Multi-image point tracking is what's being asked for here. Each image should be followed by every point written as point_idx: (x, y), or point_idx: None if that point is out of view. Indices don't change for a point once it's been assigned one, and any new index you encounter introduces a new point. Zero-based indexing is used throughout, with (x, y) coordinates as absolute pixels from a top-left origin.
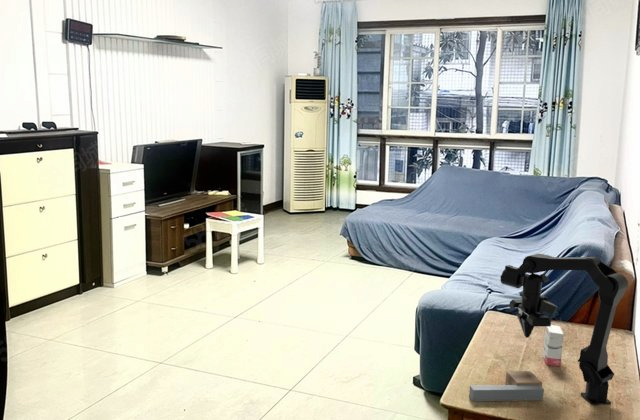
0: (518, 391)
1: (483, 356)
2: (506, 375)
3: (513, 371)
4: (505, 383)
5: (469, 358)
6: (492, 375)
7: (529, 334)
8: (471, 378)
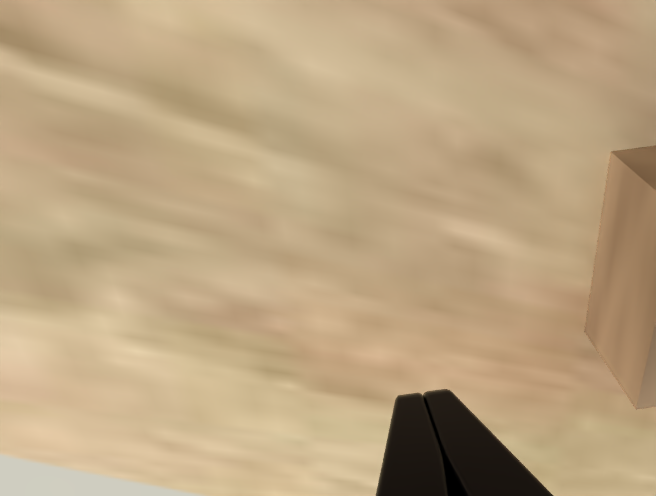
0: None
1: (68, 384)
2: (625, 381)
3: (652, 361)
4: (589, 333)
5: (146, 471)
6: (441, 383)
7: (493, 447)
8: None
